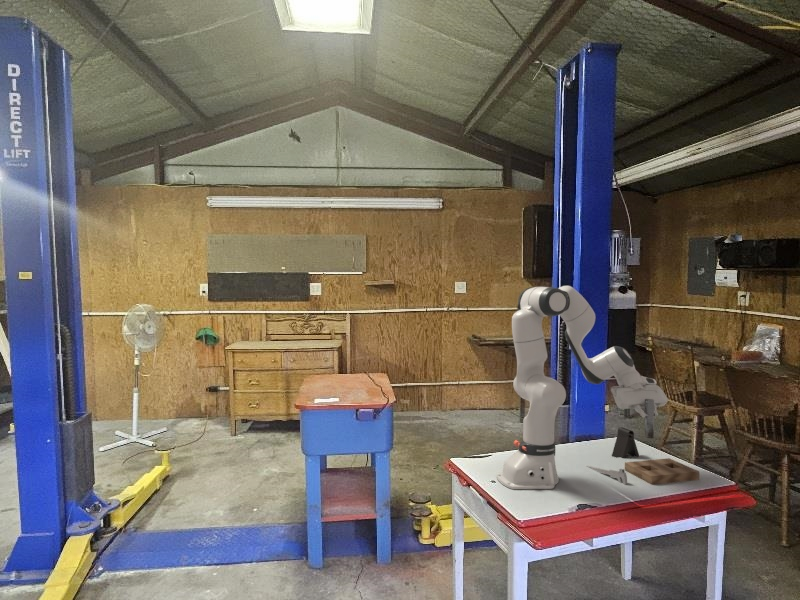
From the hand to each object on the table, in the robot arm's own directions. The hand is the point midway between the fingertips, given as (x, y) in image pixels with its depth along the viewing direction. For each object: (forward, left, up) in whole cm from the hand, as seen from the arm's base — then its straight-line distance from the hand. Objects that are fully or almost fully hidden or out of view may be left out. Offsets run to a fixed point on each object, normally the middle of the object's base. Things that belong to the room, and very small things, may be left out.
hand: (650, 416), depth 174 cm
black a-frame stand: (+7, +23, -24) cm, 33 cm away
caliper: (-15, +6, -24) cm, 29 cm away
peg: (0, +1, -8) cm, 8 cm away
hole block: (+5, +1, -23) cm, 24 cm away
